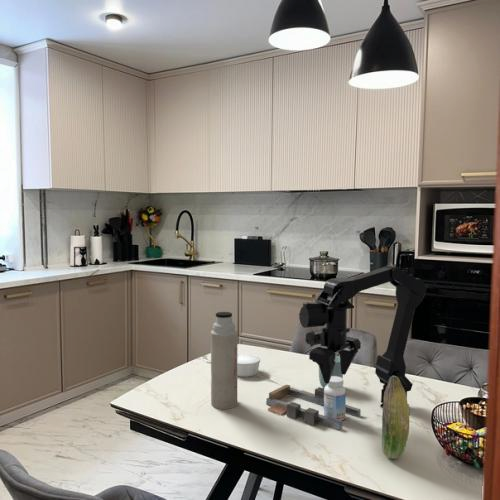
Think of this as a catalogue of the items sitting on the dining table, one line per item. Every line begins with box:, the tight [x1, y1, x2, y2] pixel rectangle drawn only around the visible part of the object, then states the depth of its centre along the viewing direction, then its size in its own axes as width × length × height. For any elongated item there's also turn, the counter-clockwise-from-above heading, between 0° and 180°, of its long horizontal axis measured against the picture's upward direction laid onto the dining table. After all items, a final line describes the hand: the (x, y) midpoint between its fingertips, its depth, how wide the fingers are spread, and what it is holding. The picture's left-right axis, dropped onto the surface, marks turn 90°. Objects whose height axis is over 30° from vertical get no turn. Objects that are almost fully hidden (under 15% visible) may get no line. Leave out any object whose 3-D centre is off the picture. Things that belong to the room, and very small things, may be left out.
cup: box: [318, 355, 344, 389], centre depth 150 cm, size 8×8×10 cm
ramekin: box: [237, 353, 261, 378], centre depth 165 cm, size 11×11×5 cm
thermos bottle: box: [210, 311, 238, 410], centre depth 137 cm, size 8×8×28 cm
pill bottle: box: [323, 376, 347, 422], centre depth 129 cm, size 6×6×11 cm
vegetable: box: [381, 376, 410, 460], centre depth 107 cm, size 6×6×20 cm
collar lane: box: [265, 384, 362, 431], centre depth 134 cm, size 25×18×4 cm
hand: (335, 378), depth 128 cm, fingers open, 9 cm apart
